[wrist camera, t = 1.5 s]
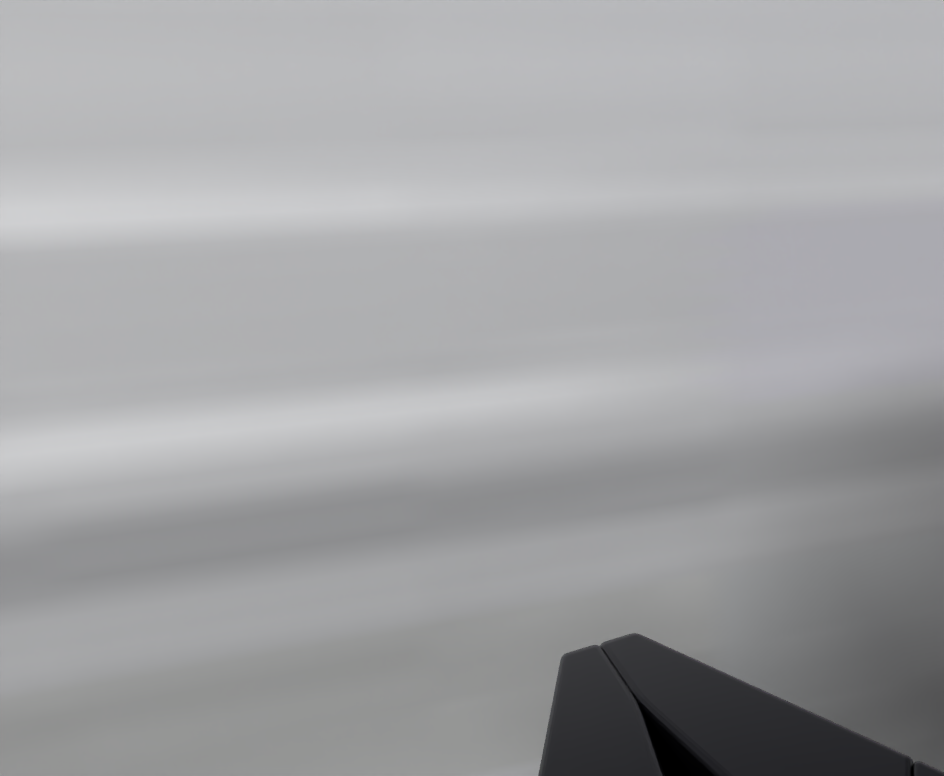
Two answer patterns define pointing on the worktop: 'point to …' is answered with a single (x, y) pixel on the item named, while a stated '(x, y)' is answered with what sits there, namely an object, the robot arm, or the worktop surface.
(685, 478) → the worktop surface
